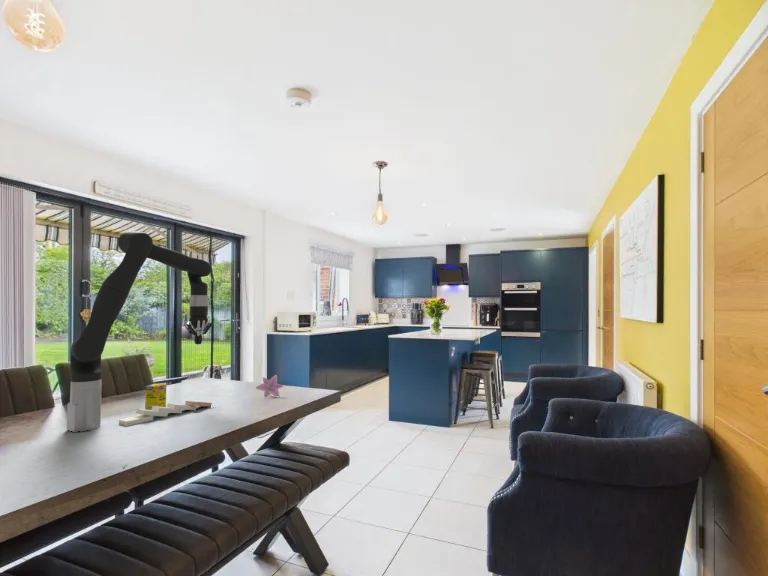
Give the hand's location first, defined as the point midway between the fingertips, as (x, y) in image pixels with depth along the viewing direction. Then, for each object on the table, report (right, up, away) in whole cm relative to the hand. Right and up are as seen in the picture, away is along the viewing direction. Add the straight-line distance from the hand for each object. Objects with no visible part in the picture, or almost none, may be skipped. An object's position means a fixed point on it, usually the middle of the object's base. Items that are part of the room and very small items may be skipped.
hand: (198, 344), depth 191 cm
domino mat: (-1, -26, -17) cm, 31 cm away
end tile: (-7, -25, -26) cm, 37 cm away
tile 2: (+2, -25, -11) cm, 28 cm away
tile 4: (-4, -25, -21) cm, 33 cm away
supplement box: (-13, -27, -12) cm, 32 cm away
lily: (+28, -28, +17) cm, 43 cm away
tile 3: (-1, -25, -16) cm, 30 cm away
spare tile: (+6, -26, -5) cm, 27 cm away
